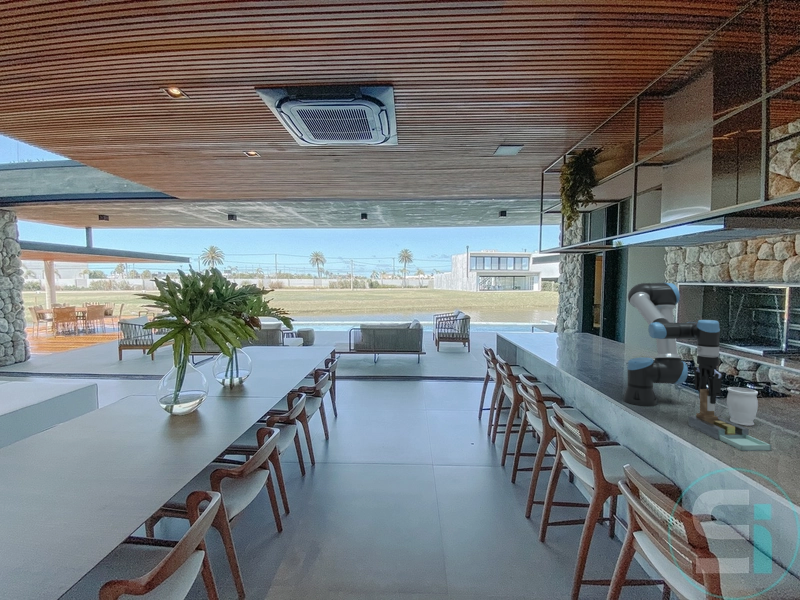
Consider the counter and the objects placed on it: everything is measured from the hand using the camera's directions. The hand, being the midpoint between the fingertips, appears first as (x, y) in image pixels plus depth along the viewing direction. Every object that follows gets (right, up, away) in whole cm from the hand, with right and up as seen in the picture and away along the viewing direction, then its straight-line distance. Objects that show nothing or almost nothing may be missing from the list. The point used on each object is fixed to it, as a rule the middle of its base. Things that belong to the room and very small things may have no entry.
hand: (707, 409), depth 167 cm
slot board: (0, -8, -5) cm, 10 cm away
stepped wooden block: (0, -6, 0) cm, 6 cm away
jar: (+20, -8, +6) cm, 22 cm away
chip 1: (0, -6, -7) cm, 9 cm away
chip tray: (0, -9, -18) cm, 20 cm away
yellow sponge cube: (0, -7, -11) cm, 13 cm away
